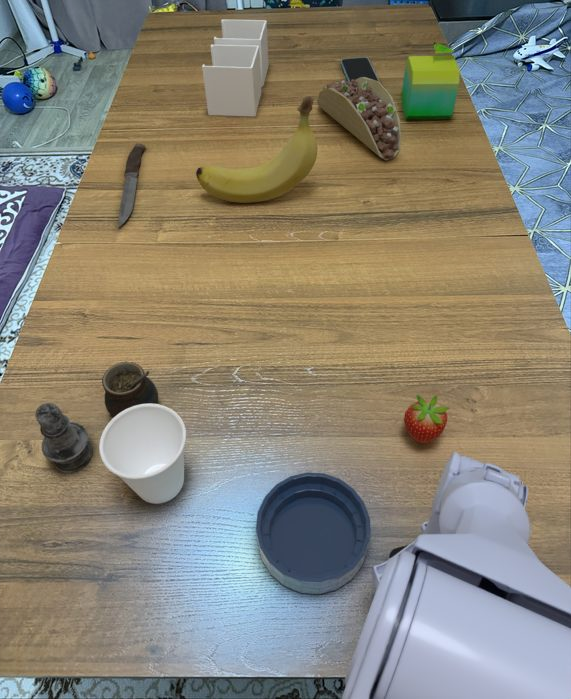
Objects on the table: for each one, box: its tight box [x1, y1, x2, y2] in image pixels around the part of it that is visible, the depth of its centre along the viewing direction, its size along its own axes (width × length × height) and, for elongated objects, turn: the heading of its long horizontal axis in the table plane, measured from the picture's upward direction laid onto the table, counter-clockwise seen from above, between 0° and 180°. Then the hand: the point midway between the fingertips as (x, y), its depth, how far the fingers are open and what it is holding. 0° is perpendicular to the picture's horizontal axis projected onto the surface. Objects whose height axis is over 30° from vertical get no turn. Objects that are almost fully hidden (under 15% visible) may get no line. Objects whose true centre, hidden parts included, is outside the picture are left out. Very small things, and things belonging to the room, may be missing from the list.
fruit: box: [403, 394, 450, 444], centre depth 75 cm, size 5×5×8 cm
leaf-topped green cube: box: [401, 41, 460, 121], centre depth 126 cm, size 11×10×15 cm
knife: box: [117, 142, 146, 228], centre depth 115 cm, size 28×3×1 cm, turn 4°
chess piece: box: [34, 402, 94, 474], centre depth 73 cm, size 6×6×12 cm
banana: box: [195, 95, 318, 204], centre depth 105 cm, size 23×6×20 cm, turn 93°
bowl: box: [255, 472, 371, 595], centre depth 68 cm, size 13×13×4 cm
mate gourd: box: [101, 360, 159, 419], centre depth 78 cm, size 7×8×10 cm
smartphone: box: [340, 56, 380, 82], centre depth 143 cm, size 7×1×15 cm
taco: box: [316, 77, 402, 161], centre depth 123 cm, size 10×27×10 cm, turn 29°
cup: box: [98, 403, 187, 505], centre depth 70 cm, size 10×10×11 cm
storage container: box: [201, 18, 270, 117], centre depth 136 cm, size 25×11×11 cm, turn 174°
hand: (429, 587), depth 64 cm, fingers closed on sponge, 4 cm apart
